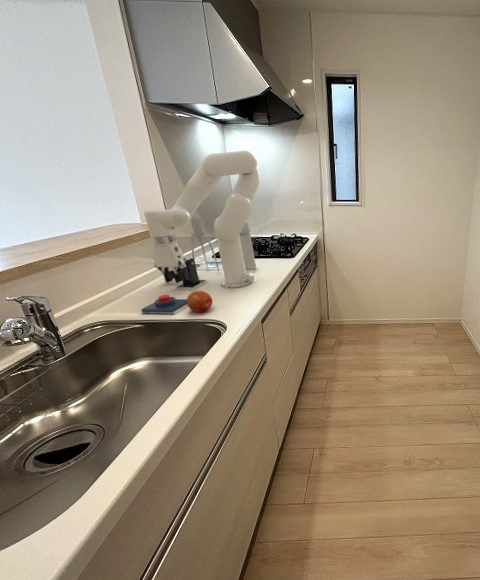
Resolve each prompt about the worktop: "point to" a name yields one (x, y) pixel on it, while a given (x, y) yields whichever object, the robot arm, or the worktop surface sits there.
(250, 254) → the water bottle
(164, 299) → the button
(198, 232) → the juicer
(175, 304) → the button box
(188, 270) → the bracket
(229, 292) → the worktop surface
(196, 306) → the apple
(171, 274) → the lever
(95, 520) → the worktop surface
